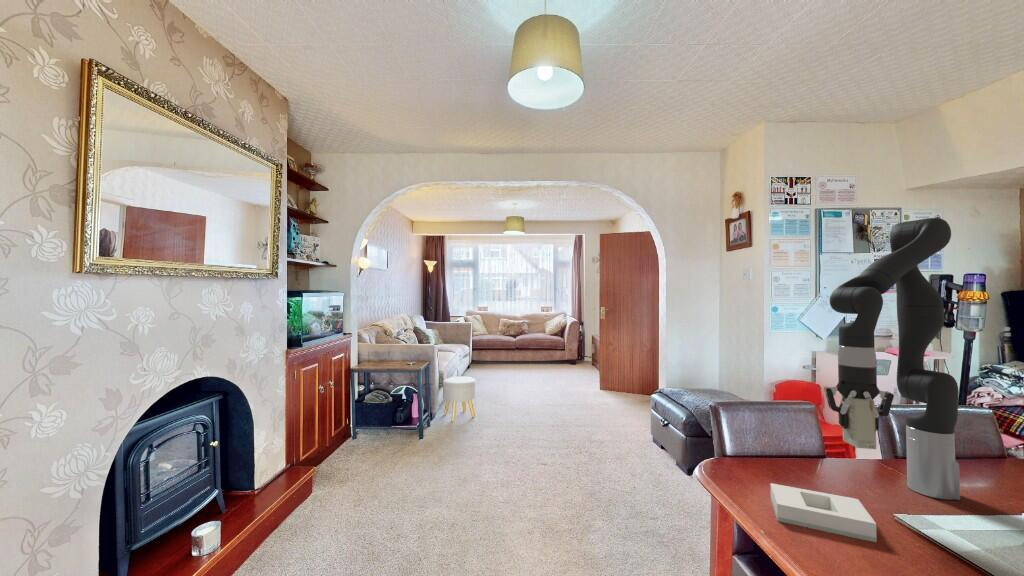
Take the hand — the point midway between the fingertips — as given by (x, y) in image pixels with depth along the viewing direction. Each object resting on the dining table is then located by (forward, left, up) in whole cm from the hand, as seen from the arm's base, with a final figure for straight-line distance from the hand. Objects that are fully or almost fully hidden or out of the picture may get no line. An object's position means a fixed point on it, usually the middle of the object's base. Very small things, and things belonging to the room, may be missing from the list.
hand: (858, 429), depth 102 cm
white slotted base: (+11, +13, -19) cm, 26 cm away
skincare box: (0, 0, -4) cm, 4 cm away
